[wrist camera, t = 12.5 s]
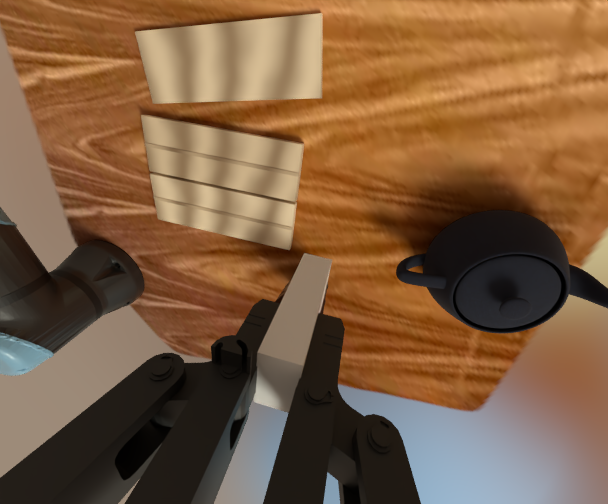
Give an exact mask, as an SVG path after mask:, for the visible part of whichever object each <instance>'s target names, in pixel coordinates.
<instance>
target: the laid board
mask: <svg viewBox="0 0 608 504" xmlns="http://www.w3.org/2000/svg"><path fill="white" fill-rule="evenodd" d="M141 119H142V126H143V132H144V138H145V146H146V151H147V158H148V164H149V171H152V172H157V173H161V174H166V175H171V176H175V177H180V178H185V179H189V180H194V181H199V182H204V183H208V184H213V185H218V186H222V187H227V188H232V189H237V190H241V191H246V192H251V193H255V194H260V195H265V196H270V197H274V198H279V199H284V200H288V201H293V202H296V200H297V198H298V190H299V182H300V174H301V166H302V159H303V151H304V143H299V142H294V141H288V140H283V139H277V138H272V137H266V136H261V135H256V134H250V133H245V132H239V131H234V130H228V129H223V128H217V127H212V126H206V125H201V124H195V123H190V122H184V121H179V120H173V119H168V118H162V117H157V116H151V115H141Z"/></svg>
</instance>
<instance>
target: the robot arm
mask: <svg viewBox="0 0 608 504" xmlns="http://www.w3.org/2000/svg"><path fill="white" fill-rule="evenodd" d="M16 226H17V225H16V224H15V223H14V222H12V221H11V220H10V219H9V218H8V216H7V215H6V214H5V213H4V211H3V210H2V209H1V208H0V374H4V375H21V374H25V373H27V372H29V371H30V370H32V369H34V368H35V367H36V366H38V365H39V364H41V363H42V362H43V361H45V360H47V359H48V358H51V357H52V356H53V355H54V353H56V352H57V351H58V350H59V349H61V348H62V347H63V346H65V345H66V344H67V343H68V342H70V341H71V340H72V339H73V338H75V337H76V336H77V335H78V334H80V333H81V332H82V331H83V330H85V329H86V328H87V327H88V326H90V325H91V324H92V323H93V322H95V321H96V320H97V319H98V318H100V317H101V316H103V315H105V314H107V313H110V312H112V311H115V310H117V309H119V308H121V307H124V306H127V305H129V304H131V303H133V302H134V301H135V300H136V299H138V298H139V297H140V296H141V295H142V293H143V291H144V280H143V276H142V274H141V272H140V270H139V268H138V267H137V265H136V264H135V262H134V261H133V260H132V259H131V258H130V257H129V256H128V255H127V254H126V253H125V252H124V251H122V250H121V249H119V248H118V247H116V246H114V245H112V244H110V243H108V242H104V241H99V240H93V241H89V242H87V243H85V244H83V245H81V246H79V247H77V248H76V249H75V250H74V251H73V252H72V254H71V255H70V256H69V257H68V258H66V259H65V260H64V261H63V262H62V263H61V264H60V265H59V266H58V267H57V268H56V269H55V270H53V271H51V272H49V273H48V271H47V270H46V269H45V267H44V266H43V264H42V263H41V262H40V260H39V259H38V257H37V256H36V255H35V253H34V252H33V250H32V249H31V248H30V246H29V245H28V243H27V242H26V241H25V239H24V238H23V236H22V235H21V234H20V232H19V231H18V229H17V228H16ZM331 263H332V260H331V259H327V258H323V257H318V256H314V255H310V254H306V253H304V255H303V257H302V259H301V261H300V263H299V265H298V267H297V269H296V272H295V274H294V276H293V278H292V280H291V282H290V284H289V286H288V288H287V291H286V293H285V295H284V297H283V299H282V301H281V303H276V302H272V301H269V300H265V299H262V300H261V301H259V302H258V303H256V304H255V305H254V306H253V307H252V309H251V311H250V312H249V315H248V316H247V317H246V319H245V321H244V323H243V324H242V326H241V327H240V329H239V331H238V332H237V334H236V336H235V335H230V336H225V337H222V338H220V339H218V340H217V341H216V342H215V343H214V344H213V345H212V346H211V353H212V361H210V362H205V363H184V360H183V359H182V358H181V357H180V356H179V355H177V354H174V353H163V354H160V355H156V356H154V357H152V358H151V359H149V360H147V361H146V362H145V363H144V364H142V365H141V366H140V367H138V368H137V369H136V370H135V371H134V372H132V373H131V374H130V375H128V376H127V377H126V378H125V379H123V380H122V381H121V382H120V383H118V384H117V385H116V386H115V387H114V388H112V389H111V390H110V391H109V392H107V393H106V394H105V395H103V396H102V397H101V398H100V399H98V400H97V401H96V402H95V403H93V404H92V405H91V406H90V407H88V408H87V409H86V410H85V411H83V412H82V413H81V414H80V415H79V416H77V417H76V418H75V419H73V420H72V421H71V422H70V423H68V424H67V425H66V426H65V427H63V428H62V429H61V430H60V431H58V432H57V433H56V434H55V435H54V436H52V437H51V438H50V439H48V440H47V441H46V442H45V443H43V444H42V445H41V446H40V447H39V448H37V449H36V450H35V451H33V452H32V453H31V454H30V455H28V456H27V457H26V458H25V459H23V460H22V461H21V462H20V463H18V464H17V465H16V466H15V467H13V468H12V469H11V470H10V471H8V472H7V473H6V474H5V475H3V476H2V477H1V478H0V504H118V503H119V502H120V501H121V499H122V498H123V497H124V496H125V495H126V493H128V491H129V490H130V489H131V488H132V487H133V486H134V484H135V483H136V482H137V481H138V480H139V479H140V480H139V481H138V483H137V485H136V486H135V488H134V489H133V491H132V493H131V494H130V496H129V497H128V499H127V501H126V502H125V504H214V501H215V499H216V496H217V494H218V491H219V489H220V486H221V483H222V481H223V479H224V476H225V474H226V471H227V469H228V466H229V464H230V461H231V459H232V456H233V454H234V451H235V449H236V446H237V444H238V441H239V439H240V436H241V434H242V431H243V429H244V426H245V424H246V421H247V419H248V414H249V407H250V405H251V402H252V400H253V397H254V402H256V403H259V404H262V405H265V406H269V407H272V408H275V409H278V410H281V411H284V412H288V413H289V414H288V417H287V421H286V424H285V428H284V432H283V435H282V439H281V442H280V446H279V449H278V453H277V456H276V460H275V463H274V467H273V471H272V474H271V478H270V481H269V484H268V488H267V492H266V496H265V499H264V502H263V504H323V500H324V493H325V486H326V478H327V472H328V473H330V474H331V475H332V476H333V477H335V478H336V479H337V480H338V484H339V493H340V504H421V502H420V499H419V495H418V492H417V489H416V485H415V482H414V478H413V475H412V471H411V468H410V464H409V461H408V457H407V454H406V450H405V447H404V444H403V440H402V438H401V436H400V433H399V431H398V429H397V428H396V427H395V426H394V425H393V424H392V422H390V421H389V420H387V419H386V418H384V417H382V416H379V415H375V414H372V415H366V416H365V417H364V416H363V415H361V414H360V413H358V412H357V411H355V410H354V409H352V408H351V407H350V406H349V405H348V404H347V403H346V402H345V401H344V400H343V399H342V397H341V395H340V393H339V390H338V374H339V367H340V359H341V352H342V345H343V337H344V330H345V328H344V326H343V323H342V320H341V319H339V318H336V317H332V316H328V315H324V314H321V313H320V311H321V307H322V303H323V299H324V295H325V290H326V286H327V281H328V277H329V272H330V268H331Z"/></svg>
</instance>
